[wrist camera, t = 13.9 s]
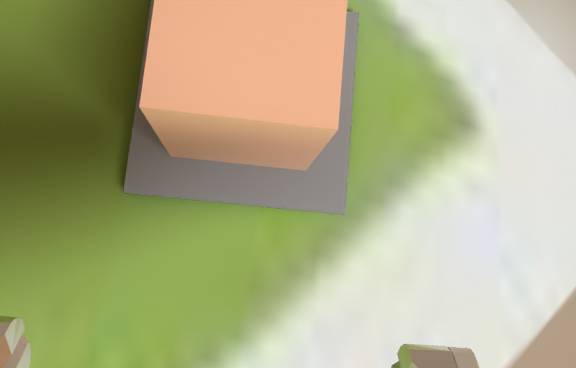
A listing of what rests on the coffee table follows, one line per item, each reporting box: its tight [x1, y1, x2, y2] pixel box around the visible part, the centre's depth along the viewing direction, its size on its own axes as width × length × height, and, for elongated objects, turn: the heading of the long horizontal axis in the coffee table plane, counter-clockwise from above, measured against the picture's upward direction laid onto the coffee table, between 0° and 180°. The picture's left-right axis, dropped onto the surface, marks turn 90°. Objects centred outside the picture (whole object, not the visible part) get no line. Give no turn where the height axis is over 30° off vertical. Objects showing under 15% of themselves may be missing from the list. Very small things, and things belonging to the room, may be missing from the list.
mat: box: [123, 0, 359, 215], centre depth 25 cm, size 11×11×1 cm
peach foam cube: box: [139, 0, 348, 171], centre depth 21 cm, size 7×7×8 cm
